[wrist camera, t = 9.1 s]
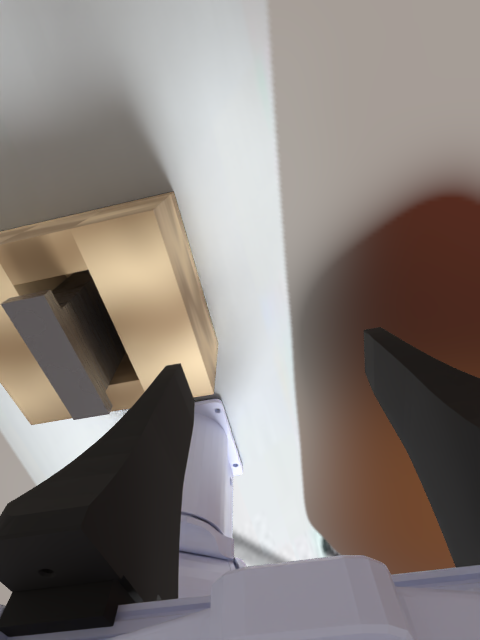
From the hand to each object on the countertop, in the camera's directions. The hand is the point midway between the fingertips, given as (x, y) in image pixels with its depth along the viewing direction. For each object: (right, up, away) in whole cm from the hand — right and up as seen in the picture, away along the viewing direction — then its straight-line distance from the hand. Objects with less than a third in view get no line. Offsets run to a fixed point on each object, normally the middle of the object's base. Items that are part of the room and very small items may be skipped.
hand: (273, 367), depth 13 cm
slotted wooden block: (-10, +4, +10) cm, 14 cm away
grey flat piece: (-10, +3, +9) cm, 14 cm away
